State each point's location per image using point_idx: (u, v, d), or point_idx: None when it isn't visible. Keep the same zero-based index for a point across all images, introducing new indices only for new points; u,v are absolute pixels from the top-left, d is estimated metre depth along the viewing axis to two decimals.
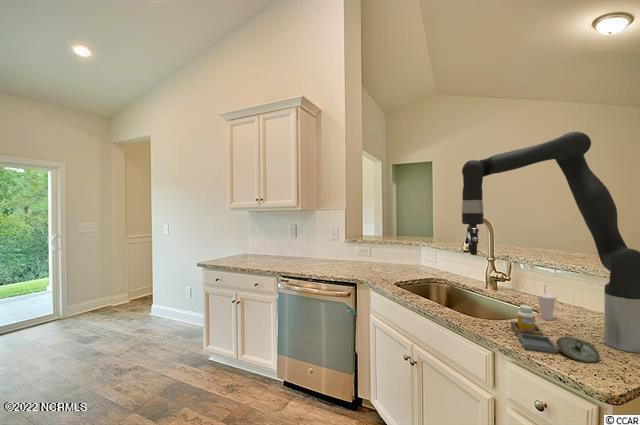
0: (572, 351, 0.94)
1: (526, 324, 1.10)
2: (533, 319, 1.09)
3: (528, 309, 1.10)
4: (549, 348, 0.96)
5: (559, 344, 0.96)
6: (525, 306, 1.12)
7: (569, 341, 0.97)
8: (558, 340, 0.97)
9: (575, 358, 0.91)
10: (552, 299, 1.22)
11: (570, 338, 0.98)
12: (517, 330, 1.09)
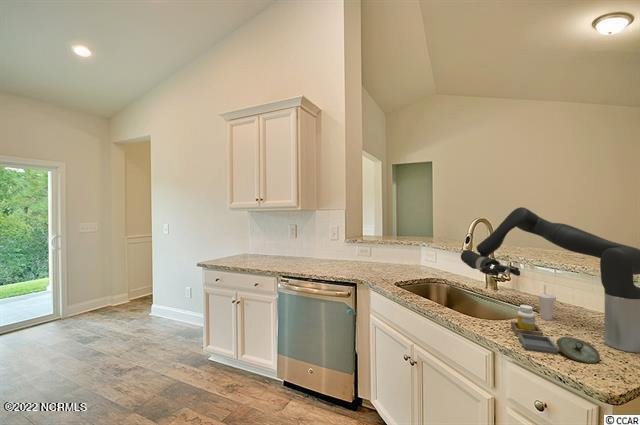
0: (572, 351, 0.93)
1: (526, 324, 1.10)
2: (533, 319, 1.09)
3: (528, 309, 1.10)
4: (549, 348, 0.96)
5: (559, 344, 0.96)
6: (525, 306, 1.12)
7: (569, 341, 0.97)
8: (558, 340, 0.97)
9: (575, 359, 0.90)
10: (552, 299, 1.22)
11: (570, 338, 0.98)
12: (517, 330, 1.09)
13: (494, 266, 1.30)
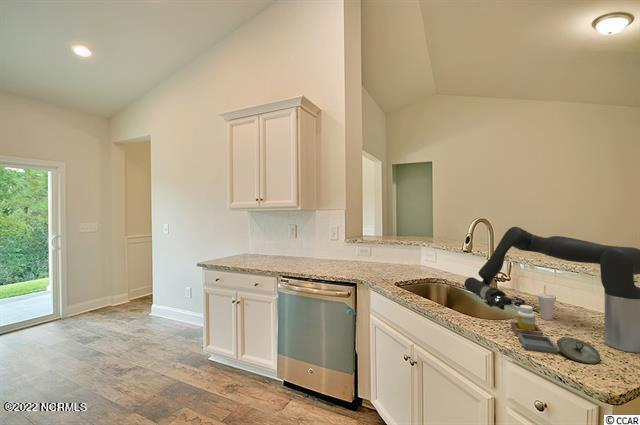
0: (573, 352, 0.93)
1: (526, 324, 1.10)
2: (533, 319, 1.09)
3: (528, 309, 1.10)
4: (549, 348, 0.96)
5: (559, 345, 0.95)
6: (525, 306, 1.12)
7: (569, 342, 0.96)
8: (558, 341, 0.97)
9: (576, 359, 0.90)
10: (552, 299, 1.22)
11: (570, 339, 0.97)
12: (517, 330, 1.09)
13: (499, 298, 1.27)
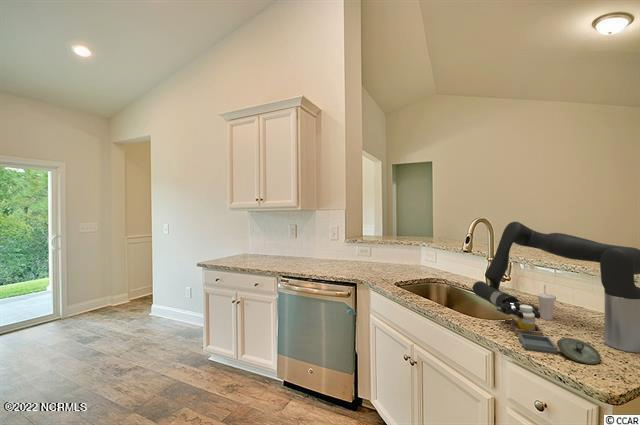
0: (573, 352, 0.93)
1: (526, 324, 1.10)
2: (533, 319, 1.09)
3: (528, 309, 1.10)
4: (549, 348, 0.96)
5: (560, 346, 0.95)
6: (525, 306, 1.12)
7: (570, 342, 0.96)
8: (559, 341, 0.96)
9: (576, 360, 0.90)
10: (552, 299, 1.22)
11: (570, 339, 0.97)
12: (517, 330, 1.09)
13: (513, 305, 1.17)
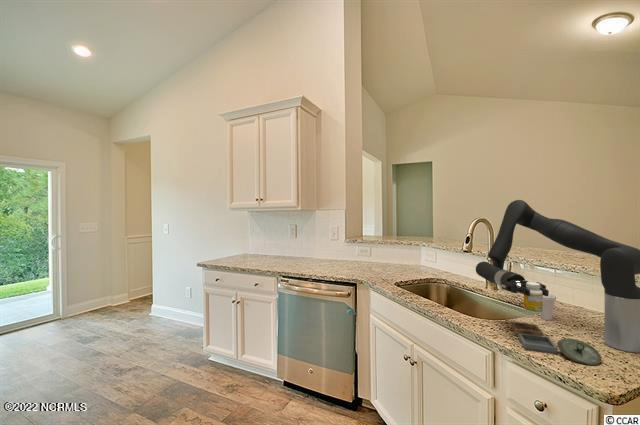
0: (574, 353, 0.92)
1: (533, 301, 1.02)
2: (540, 296, 1.01)
3: (535, 286, 1.02)
4: (549, 348, 0.96)
5: (560, 346, 0.94)
6: (532, 283, 1.04)
7: (570, 343, 0.96)
8: (559, 342, 0.96)
9: (577, 361, 0.89)
10: (552, 299, 1.22)
11: (571, 340, 0.97)
12: (517, 330, 1.09)
13: (519, 283, 1.09)
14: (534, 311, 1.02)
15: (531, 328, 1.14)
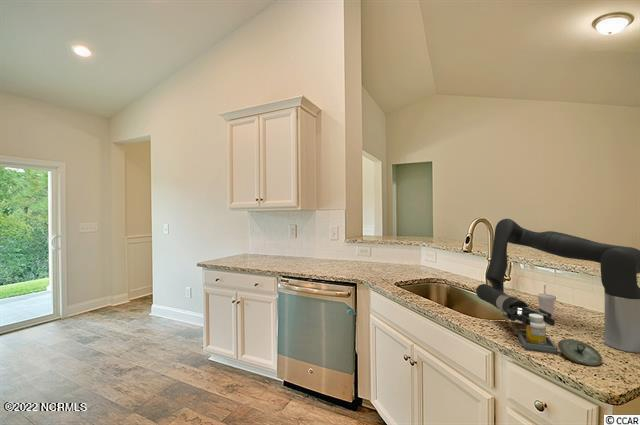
0: (574, 354, 0.92)
1: (536, 335, 0.98)
2: (544, 329, 0.98)
3: (538, 319, 0.99)
4: (549, 348, 0.96)
5: (561, 347, 0.94)
6: (535, 315, 1.01)
7: (570, 344, 0.95)
8: (559, 343, 0.96)
9: (578, 361, 0.89)
10: (552, 299, 1.22)
11: (571, 340, 0.96)
12: (517, 330, 1.09)
13: (521, 310, 1.06)
14: None
15: None
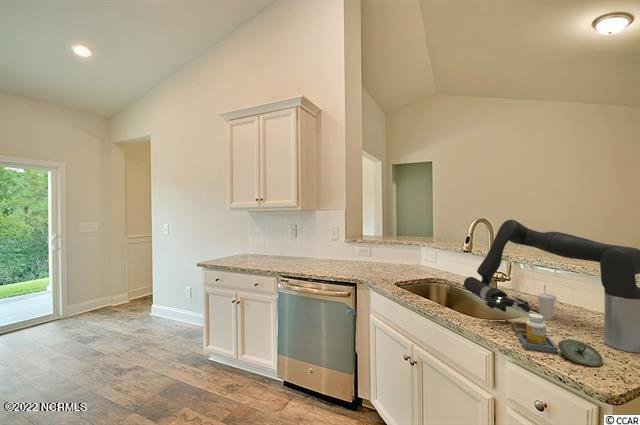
0: (575, 354, 0.91)
1: (536, 335, 0.98)
2: (544, 329, 0.98)
3: (538, 319, 0.99)
4: (549, 348, 0.96)
5: (561, 348, 0.93)
6: (535, 315, 1.01)
7: (571, 344, 0.95)
8: (560, 343, 0.95)
9: (578, 362, 0.88)
10: (552, 299, 1.22)
11: (571, 341, 0.96)
12: (517, 330, 1.09)
13: (501, 299, 1.19)
14: None
15: None
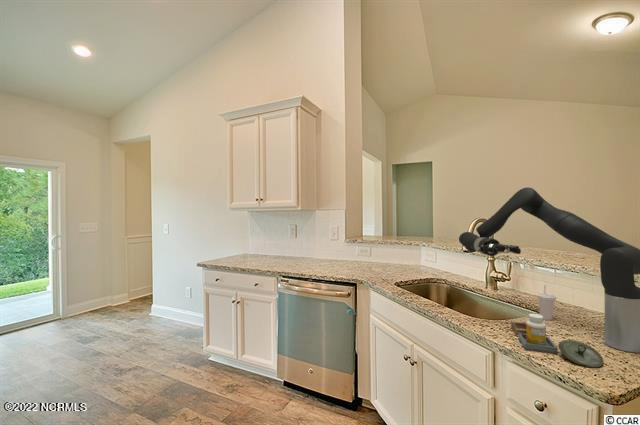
0: (575, 355, 0.91)
1: (536, 335, 0.98)
2: (544, 329, 0.98)
3: (538, 319, 0.99)
4: (549, 348, 0.96)
5: (562, 348, 0.93)
6: (535, 315, 1.01)
7: (571, 345, 0.94)
8: (560, 344, 0.95)
9: (579, 363, 0.88)
10: (552, 299, 1.22)
11: (572, 342, 0.95)
12: (517, 330, 1.09)
13: (493, 245, 1.23)
14: None
15: None
